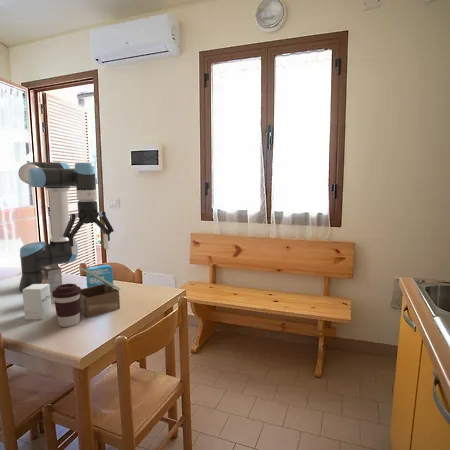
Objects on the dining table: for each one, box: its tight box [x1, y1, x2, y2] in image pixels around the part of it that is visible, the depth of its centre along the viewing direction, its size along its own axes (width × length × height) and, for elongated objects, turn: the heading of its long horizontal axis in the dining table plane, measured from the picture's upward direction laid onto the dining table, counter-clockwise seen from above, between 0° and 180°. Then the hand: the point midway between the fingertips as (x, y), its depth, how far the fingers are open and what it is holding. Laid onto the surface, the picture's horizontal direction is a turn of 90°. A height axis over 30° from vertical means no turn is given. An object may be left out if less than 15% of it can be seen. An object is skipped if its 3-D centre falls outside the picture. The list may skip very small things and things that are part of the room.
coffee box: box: [40, 264, 63, 305], centre depth 151 cm, size 9×6×16 cm
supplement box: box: [21, 284, 53, 320], centre depth 133 cm, size 7×7×13 cm
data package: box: [85, 264, 114, 288], centre depth 165 cm, size 12×4×12 cm, turn 122°
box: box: [80, 284, 121, 319], centre depth 140 cm, size 14×14×8 cm
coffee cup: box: [52, 283, 82, 328], centre depth 125 cm, size 10×10×15 cm
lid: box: [78, 266, 121, 291], centre depth 140 cm, size 15×14×1 cm
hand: (90, 251), depth 137 cm, fingers open, 13 cm apart
